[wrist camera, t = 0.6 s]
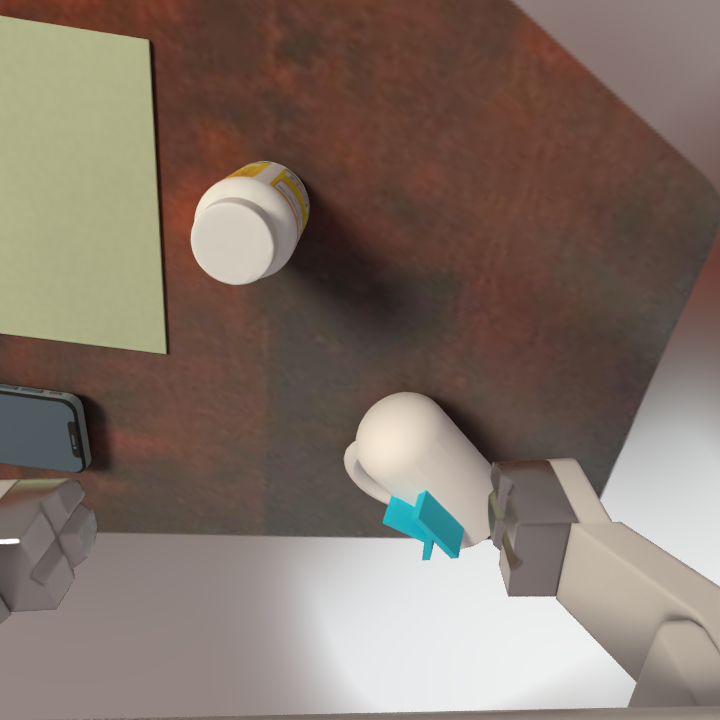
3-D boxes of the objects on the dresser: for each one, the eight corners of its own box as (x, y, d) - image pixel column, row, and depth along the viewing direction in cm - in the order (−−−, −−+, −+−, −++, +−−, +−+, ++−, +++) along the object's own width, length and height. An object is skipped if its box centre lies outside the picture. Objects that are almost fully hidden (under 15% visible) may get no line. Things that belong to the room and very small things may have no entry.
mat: (-152, -9, 27) (-155, -10, 27) (150, 40, 28) (148, 39, 28) (-55, 325, 36) (-57, 326, 36) (167, 352, 37) (166, 354, 37)
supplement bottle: (322, 180, 31) (305, 215, 23) (294, 257, 34) (270, 314, 25) (239, 145, 30) (190, 167, 22) (216, 226, 33) (165, 275, 24)
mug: (393, 465, 29) (499, 571, 34) (427, 362, 36) (514, 463, 40) (273, 492, 37) (373, 576, 41) (319, 403, 43) (402, 485, 47)
